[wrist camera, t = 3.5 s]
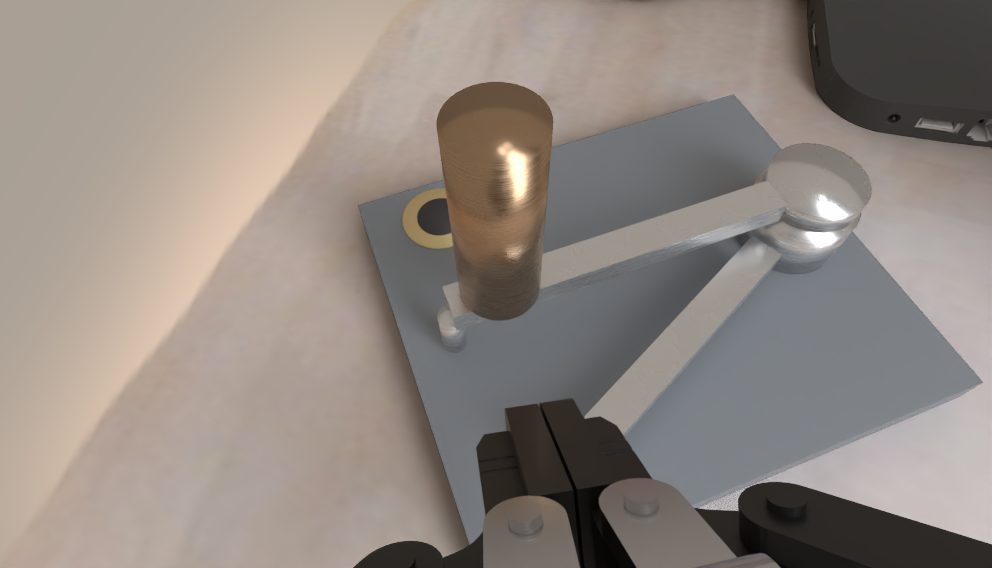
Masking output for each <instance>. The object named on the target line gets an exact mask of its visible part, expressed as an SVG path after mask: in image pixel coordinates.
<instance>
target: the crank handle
mask: <svg viewBox="0 0 992 568" xmlns="http://www.w3.org/2000/svg"><path fill="white" fill-rule="evenodd" d="M552 130H553V116H552V113H551V110H550V108H549V106H548V105H547V103H546V102H545V101H544V100H543V99H542V98H541V97H540V96H539V95H537V94H536V93H535V92H533V91H531V90H529V89H527V88H525V87H522V86H519V85H516V84H512V83H505V82H488V83H481V84H476V85H473V86H470V87H467V88H465V89H463V90H461V91H459V92H457V93H456V94H454V95H453V96H451V97H450V98H449V99H448V100H447V101H446V102H445V104H444V105H443V106H442V108H441V109H440V112H439V114H438V118H437V132H438V139H439V146H440V154H441V161H442V168H443V176H444V183H445V190H446V197H447V205H448V212H449V219H450V226H451V234H452V241H453V248H454V256H455V263H456V270H457V277H458V282H455V283H452V284H449V285H446V286H443V287H442V288H443V294H444V299H445V302H446V305H444V306H443V307H441V308H440V310H439V311H438V314H437V318H438V323H439V328H440V332H441V337H442V342H443V346H444V348H445V349H446V350H447V351H449V352H452V353H456V352H460V351H462V350H463V349H464V348H465V347H466V345H467V335H466V327H469V326H472V325H475V324H478V323H481V322H484V321H486V320H495V321H504V320H510V319H514V318H516V317H519V316H521V315H522V314H524V313H526V312H527V311H528V310H529V309H530V308H531V307H532V306H533V305H534V304H536V303H539V302H542V301H545V300H548V299H551V298H554V297H557V296H560V295H563V294H566V293H569V292H572V291H574V290H577V289H580V288H583V287H586V286H589V285H592V284H595V283H598V282H601V281H604V280H607V279H610V278H613V277H616V276H618V275H621V274H624V273H627V272H630V271H633V270H636V269H639V268H642V267H645V266H648V265H651V264H654V263H657V262H660V261H662V260H665V259H668V258H671V257H674V256H677V255H680V254H683V253H686V252H689V251H692V250H695V249H698V248H701V247H704V246H706V245H709V244H712V243H715V242H718V241H721V240H724V239H727V238H730V237H733V236H736V235H739V234H742V233H745V232H748V231H750V230H753V229H756V228H759V227H762V226H765V225H768V224H771V223H774V222H777V221H779V219H781V220H782V221H784V222H785V223H787V224H789V225H791V226H793V227H795V228H798V229H801V230H804V231H809V232H815V233H829V232H835V231H838V230H841V229H843V228H845V227H847V226H849V225H850V224H851V223H852V222H853V221H854V220H855V219H856V217H857V216H858V215H859V213H860V212H861V211H862V209H863V208H864V207H865V206H866V204H867V203H868V201H869V199H870V197H871V190H872V188H871V183H870V179H869V177H868V175H867V173H866V172H865V170H864V169H863V168H862V167H861V166H860V165H859V164H858V163H857V162H856V161H855V160H854V159H853V158H851V157H850V156H848V155H847V154H845V153H843V152H841V151H839V150H837V149H834V148H831V147H828V146H824V145H820V144H810V143H805V144H796V145H792V146H789V147H786V148H784V149H782V150H781V151H779V152H778V153H777V154H776V155H775V156H774V157H773V159H772V160H771V162H770V164H769V166H768V168H767V170H766V172H765V174H764V176H763V178H762V181H761V183H759V184H756V185H753V186H749V187H746V188H743V189H740V190H737V191H734V192H731V193H728V194H725V195H722V196H719V197H716V198H713V199H710V200H707V201H704V202H700V203H697V204H694V205H691V206H688V207H685V208H682V209H679V210H676V211H673V212H670V213H667V214H664V215H661V216H658V217H655V218H651V219H648V220H645V221H642V222H639V223H636V224H633V225H630V226H627V227H624V228H621V229H618V230H615V231H612V232H609V233H605V234H602V235H599V236H596V237H593V238H590V239H587V240H584V241H581V242H578V243H575V244H572V245H569V246H566V247H563V248H560V249H556V250H553V251H550V252H547V253H544V254H543V245H544V232H545V219H546V207H547V194H548V181H549V169H550V156H551V143H552Z"/></svg>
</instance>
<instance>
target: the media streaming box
mask: <svg viewBox="0 0 992 568" xmlns="http://www.w3.org/2000/svg"><path fill="white" fill-rule="evenodd" d="M807 16H808V36H809V46H810V55H811V62H812V68H813V74H814V80H815V85H816V90H817V92H818V94H819V95H820V97H821V98H822V100H823V101H824V102H825V103H826V104H827V105H828V106H829V107H830V108H831V109H832V110H833V111H834V112H836V113H837V114H838V115H840V116H841V117H843V118H845V119H846V120H848V121H850V122H852V123H854V124H856V125H859V126H861V127H864V128H866V129H870V130H873V131H878V132H884V133H890V134H896V135H902V136H909V137H916V138H923V139H930V140H937V141H944V142H952V143H960V144H968V145H977V146H986V147H992V0H808V3H807ZM927 130H928V131H927ZM934 131H935V132H934ZM941 132H942V133H941Z"/></svg>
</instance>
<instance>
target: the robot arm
mask: <svg viewBox="0 0 992 568" xmlns="http://www.w3.org/2000/svg"><path fill="white" fill-rule="evenodd" d="M504 413H505V423H506V431H502V432H496V433H489V434H484V435H483V437H482V438H481V440H480V442H479V443H478V445H477V447H476V452H477V459H478V466H479V474H480V481H481V488H482V496H483V503H484V511H485V519H484V522H483V531H482V533H481V534H480V536H479V537H478V538H477V539H476V540H475V541H474V542H473V543H471V544H470V545H469V546H467V547H466V548H464V549H462V550H460V551H458V552H456V553H454V554H451V555H449V556H446V557H444V558H443V557H442V555H441V553H440V552H439V551H438V550H437V549H436V548H435V547H433V546H432V545H429V544H427V543H423V542H418V541H403V542H397V543H393V544H389V545H386V546H384V547H381V548H379V549H377V550H375V551H374V552H372V553H370V554H369V555H368V556H366V557H365V558H364V559H363V560H361V561H360V562H359V563H358V564H357V565H356V566H355V567H353V568H992V544H988V543H985V542H982V541H979V540H975V539H972V538H969V537H966V536H962V535H959V534H956V533H953V532H949V531H946V530H943V529H940V528H936V527H933V526H930V525H927V524H923V523H920V522H917V521H914V520H910V519H907V518H904V517H901V516H898V515H894V514H891V513H888V512H885V511H881V510H878V509H875V508H872V507H868V506H865V505H862V504H859V503H855V502H852V501H849V500H846V499H842V498H839V497H836V496H833V495H829V494H826V493H823V492H820V491H816V490H813V489H810V488H807V487H803V486H800V485H796V484H791V483H783V482H768V483H761V484H756V485H753V486H751V487H749V488H747V489H745V490H744V491H743V492H742V493H741V495H740V496H739V499H738V509H739V511H724V510H705V509H698V508H693V507H692V505H691V504H690V503H689V502H688V501H687V500H686V499H685V497H684V496H683V495H682V494H681V493H680V492H679V491H678V490H677V489H676V488H674V487H673V486H671V485H669V484H667V483H665V482H662V481H658V480H654V479H652V477H651V476H650V474H649V473H648V471H647V470H646V468H645V467H644V465H643V464H642V462H641V461H640V459H639V458H638V456H637V455H636V453H635V452H634V451H632V447H631V446H630V444H629V443H628V441H627V440H625V437H624V435H623V434H622V432H621V431H620V429H619V428H618V426H617V425H615V424H613V423H612V422H610V421H608V420H606V419H604V418H603V417H601V416H599V417H592V418H586V419H584V417H583V415H582V414H581V412H580V410H579V408H578V407H577V405H576V403H575V401H574V400H573V398H569V399H563V400H556V401H549V402H543V403H539V406H538V404H530V405H524V406H517V407H510V408H505V409H504Z"/></svg>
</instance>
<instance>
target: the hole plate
mask: <svg viewBox="0 0 992 568" xmlns="http://www.w3.org/2000/svg"><path fill="white" fill-rule="evenodd" d="M779 151H781V149H780V147H779V146H778V145H777V144H776V143H775V142H774V140H773V139H772V138H771V137H770V136H769V135H768V134H767V132H766V131H765V130H764V129H763V128H762V127H761V125H760V124H759V123H758V122H757V121H756V120H755V119H754V117H753V116H752V115H751V114H750V113H749V112H748V110H747V109H746V108H745V107H744V106H743V105H742V104H741V102H740V101H739V100H738V99H737V98H736V97H735V95H734V94H733V95H730V96H726V97H723V98H720V99H716V100H713V101H710V102H706V103H703V104H699V105H696V106H693V107H689V108H686V109H682V110H679V111H676V112H672V113H669V114H665V115H662V116H659V117H655V118H652V119H648V120H645V121H642V122H638V123H635V124H632V125H628V126H625V127H621V128H618V129H615V130H611V131H608V132H604V133H601V134H598V135H594V136H591V137H587V138H584V139H581V140H577V141H574V142H571V143H567V144H564V145H560V146H557V147H554V148H551V156H550V169H549V181H548V194H547V207H546V219H545V232H544V245H543V254H544V253H547V252H550V251H553V250H556V249H560V248H563V247H566V246H569V245H572V244H575V243H578V242H581V241H584V240H587V239H590V238H593V237H596V236H599V235H602V234H605V233H609V232H612V231H615V230H618V229H621V228H624V227H627V226H630V225H633V224H636V223H639V222H642V221H645V220H648V219H651V218H655V217H658V216H661V215H664V214H667V213H670V212H673V211H676V210H679V209H682V208H685V207H688V206H691V205H694V204H697V203H700V202H704V201H707V200H710V199H713V198H716V197H719V196H722V195H725V194H728V193H731V192H734V191H737V190H740V189H743V188H746V187H749V186H753V185H754V183H755V181H756V179H757V178H758V176H759V175H760V174H761V173H762V172H763V171H764V170H765V169H767V168H768V166H769V164H770V162H771V160H772V159H773V157H774V156H775V155H776V154H777V153H778V152H779ZM358 207H359V210H360V213H361V217H362V220H363V223H364V226H365V229H366V232H367V235H368V238H369V241H370V244H371V247H372V250H373V253H374V256H375V259H376V262H377V265H378V268H379V271H380V274H381V277H382V280H383V283H384V286H385V289H386V292H387V295H388V298H389V301H390V305H391V308H392V311H393V314H394V317H395V320H396V323H397V326H398V329H399V332H400V335H401V338H402V341H403V344H404V347H405V350H406V353H407V356H408V359H409V362H410V365H411V368H412V371H413V374H414V377H415V380H416V383H417V386H418V390H419V393H420V396H421V399H422V402H423V405H424V408H425V411H426V414H427V417H428V420H429V423H430V426H431V429H432V432H433V435H434V438H435V441H436V444H437V447H438V450H439V453H440V456H441V459H442V462H443V465H444V468H445V471H446V474H447V478H448V481H449V484H450V487H451V490H452V493H453V496H454V499H455V502H456V505H457V508H458V511H459V514H460V517H461V520H462V523H463V526H464V529H465V532H466V535H467V538H468V541H469V544H471V543H473V542H474V541H475V540H476V539H477V538H478V537H479V536H480V534H481V533H482V531H483V522H484V519H485V511H484V503H483V496H482V488H481V481H480V474H479V466H478V459H477V452H476V447H477V445H478V443H479V442H480V440H481V438H482V437H483V435H484V434H489V433H496V432H502V431H506V423H505V413H504V409H505V408H510V407H517V406H524V405H530V404H538V406H539V403H543V402H549V401H556V400H563V399H569V398H573V400H574V401H575V403H576V405H577V407H578V408H579V410H580V412H581V414H582V415H583V417H584V416H585V415H586V414H587V413H588V412H589V411H590V410H591V409H592V408H593V407H594V406H595V405H596V403H597V402H598V401H599V400H600V399H601V398H602V397H603V396H604V395H605V394H606V393H607V392H608V391H609V390H610V388H611V387H612V386H613V385H614V384H615V383H616V382H617V381H618V380H619V379H620V378H621V377H622V376H623V374H624V373H625V372H626V371H627V370H628V369H629V368H630V367H631V366H632V365H633V364H634V363H635V362H636V360H637V359H638V358H639V357H640V356H641V355H642V354H643V353H644V352H645V351H646V350H647V349H648V348H649V346H650V345H651V344H652V343H653V342H654V341H655V340H656V339H657V338H658V337H659V336H660V335H661V334H662V332H663V331H664V330H665V329H666V328H667V327H668V326H669V325H670V324H671V323H672V322H673V321H674V320H675V318H676V317H677V316H678V315H679V314H680V313H681V312H682V311H683V310H684V309H685V308H686V307H687V306H688V305H689V303H690V302H691V301H692V300H693V299H694V298H695V297H696V296H697V295H698V294H699V293H700V292H701V291H702V289H703V288H704V287H705V286H706V285H707V284H708V283H709V282H710V281H711V280H712V279H713V278H714V277H715V275H716V274H717V273H718V272H719V271H720V270H721V269H722V268H723V267H724V266H725V265H726V264H727V263H728V261H729V260H730V259H731V258H732V257H733V256H734V255H735V254H736V253H737V252H738V251H739V250H740V249H741V245H740V243H739V241H738V239H737V236H733V237H730V238H727V239H724V240H721V241H718V242H715V243H712V244H709V245H706V246H704V247H701V248H698V249H695V250H692V251H689V252H686V253H683V254H680V255H677V256H674V257H671V258H668V259H665V260H662V261H660V262H657V263H654V264H651V265H648V266H645V267H642V268H639V269H636V270H633V271H630V272H627V273H624V274H621V275H618V276H616V277H613V278H610V279H607V280H604V281H601V282H598V283H595V284H592V285H589V286H586V287H583V288H580V289H577V290H574V291H572V292H569V293H566V294H563V295H560V296H557V297H554V298H551V299H548V300H545V301H542V302H539V303H536V304H534V305H533V306H532V307H531V308H530V309H529V310H528V311H527V312H526V313H524V314H522V315H521V316H519V317H516V318H514V319H510V320H504V321H495V320H486V321H484V322H481V323H478V324H475V325H472V326H469V327H466V335H467V345H466V347H465V348H464V349H463V350H462V351H460V352H456V353H452V352H449V351H447V350H446V349H445V348H444V346H443V342H442V337H441V332H440V328H439V323H438V318H437V314H438V311H439V310H440V308H441V307H443V306H444V305H446V302H445V299H444V294H443V288H442V287H443V286H446V285H449V284H452V283H455V282H458V277H457V270H456V263H455V256H454V248H453V241H452V234H451V226H450V219H449V212H448V205H447V197H446V190H445V183H444V180H442V181H438V182H435V183H432V184H428V185H425V186H421V187H418V188H415V189H411V190H408V191H404V192H401V193H398V194H394V195H391V196H387V197H384V198H381V199H377V200H374V201H370V202H367V203H364V204H360V205H358ZM981 383H983V382H982V381H981V379H980V378H979V377H978V376H977V375H976V374H975V372H974V371H973V370H972V369H971V368H970V367H969V366H968V364H967V363H966V362H965V361H964V360H963V359H962V357H961V356H960V355H959V354H958V353H957V352H956V351H955V349H954V348H953V347H952V346H951V345H950V344H949V342H948V341H947V340H946V339H945V338H944V337H943V336H942V334H941V333H940V332H939V331H938V330H937V329H936V327H935V326H934V325H933V324H932V323H931V322H930V321H929V319H928V318H927V317H926V316H925V315H924V314H923V312H922V311H921V310H920V309H919V308H918V307H917V306H916V304H915V303H914V302H913V301H912V300H911V299H910V297H909V296H908V295H907V294H906V293H905V292H904V291H903V289H902V288H901V287H900V286H899V285H898V284H897V282H896V281H895V280H894V279H893V278H892V277H891V276H890V274H889V273H888V272H887V271H886V270H885V269H884V267H883V266H882V265H881V264H880V263H879V262H878V260H877V259H876V258H875V257H874V256H873V255H872V254H871V252H870V251H869V250H868V249H867V248H866V247H865V245H864V244H863V243H862V242H861V241H860V240H859V239H858V237H857V236H856V235H855V234H854V233H853V232H851V233H850V235H849V236H848V237H847V238H846V240H845V241H844V242H843V243H842V245H841V246H840V247H839V249H838V250H837V251H836V252H835V254H834V255H833V256H832V257H831V259H830V260H829V261H828V262H827V263H826V264H825V265H824V266H823V267H822V268H820V269H818V270H816V271H814V272H811V273H807V274H796V275H794V274H785V273H780V272H776V271H773V270H771V271H770V272H769V273H768V275H767V276H766V277H765V278H764V279H763V280H762V281H761V282H760V284H759V285H758V286H757V287H756V288H755V289H754V290H753V292H752V293H751V294H750V295H749V296H748V297H747V298H746V300H745V301H744V302H743V303H742V304H741V305H740V306H739V308H738V309H737V310H736V311H735V312H734V313H733V314H732V315H731V317H730V318H729V319H728V320H727V321H726V322H725V323H724V325H723V326H722V327H721V328H720V329H719V330H718V331H717V333H716V334H715V335H714V336H713V337H712V338H711V339H710V341H709V342H708V343H707V344H706V345H705V346H704V347H703V348H702V350H701V351H700V352H699V353H698V354H697V355H696V356H695V358H694V359H693V360H692V361H691V362H690V363H689V364H688V366H687V367H686V368H685V369H684V370H683V371H682V372H681V374H680V375H679V376H678V377H677V378H676V379H675V380H674V381H673V383H672V384H671V385H670V386H669V387H668V388H667V389H666V391H665V392H664V393H663V394H662V395H661V396H660V397H659V399H658V400H657V401H656V402H655V403H654V404H653V405H652V407H651V408H650V409H649V410H648V411H647V412H646V413H645V414H644V416H643V417H642V418H641V419H640V420H639V421H638V422H637V424H636V425H635V426H634V427H633V428H632V429H631V430H630V432H629V433H628V434H627V435H626V436H625V440H627V441H628V443H629V444H630V446H631V447H632V451H634V452H635V453H636V455H637V456H638V458H639V459H640V461H641V462H642V464H643V465H644V467H645V468H646V470H647V471H648V473H649V474H650V476H651V477H652V479H654V480H658V481H662V482H665V483H667V484H669V485H671V486H673V487H674V488H676V489H677V490H678V491H679V492H680V493H681V494H682V495H683V496H684V497H685V499H686V500H687V501H688V502H689V503H690V504H691V505H692V507H693V508H697V507H700V506H702V505H704V504H707V503H709V502H712V501H714V500H716V499H719V498H721V497H723V496H726V495H728V494H730V493H733V492H735V491H738V490H740V489H742V488H745V487H747V486H749V485H752V484H754V483H756V482H759V481H761V480H764V479H766V478H768V477H771V476H773V475H775V474H778V473H780V472H782V471H785V470H787V469H789V468H792V467H794V466H797V465H799V464H801V463H804V462H806V461H808V460H811V459H813V458H815V457H818V456H820V455H823V454H825V453H827V452H830V451H832V450H834V449H837V448H839V447H841V446H844V445H846V444H848V443H851V442H853V441H856V440H858V439H860V438H863V437H865V436H867V435H870V434H872V433H874V432H877V431H879V430H882V429H884V428H886V427H889V426H891V425H893V424H896V423H898V422H900V421H903V420H905V419H908V418H910V417H912V416H915V415H917V414H919V413H922V412H924V411H926V410H929V409H931V408H933V407H936V406H938V405H941V404H943V403H945V402H948V401H950V400H952V399H955V398H957V397H959V396H961V395H963V394H964V393H966V392H968V391H970V390H971V389H973V388H975V387H976V386H978V385H980V384H981Z"/></svg>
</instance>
